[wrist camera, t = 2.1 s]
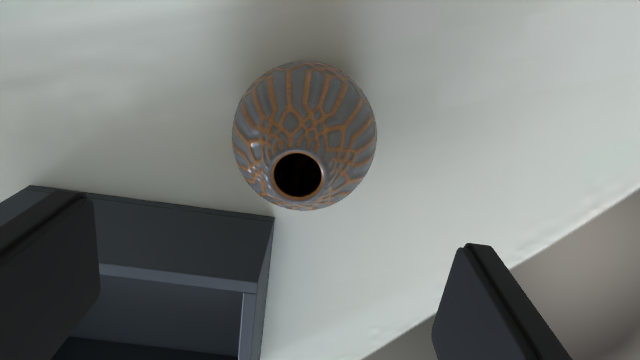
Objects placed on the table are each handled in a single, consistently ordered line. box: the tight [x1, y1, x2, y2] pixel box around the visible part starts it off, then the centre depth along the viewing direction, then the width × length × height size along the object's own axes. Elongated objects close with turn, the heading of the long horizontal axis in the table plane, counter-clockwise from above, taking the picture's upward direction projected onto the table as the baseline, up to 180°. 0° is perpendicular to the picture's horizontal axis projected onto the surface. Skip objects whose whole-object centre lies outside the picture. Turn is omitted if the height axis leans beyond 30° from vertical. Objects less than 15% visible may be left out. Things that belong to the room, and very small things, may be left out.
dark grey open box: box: [0, 185, 275, 360], centre depth 25 cm, size 12×15×7 cm
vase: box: [232, 61, 377, 211], centre depth 19 cm, size 7×7×9 cm
